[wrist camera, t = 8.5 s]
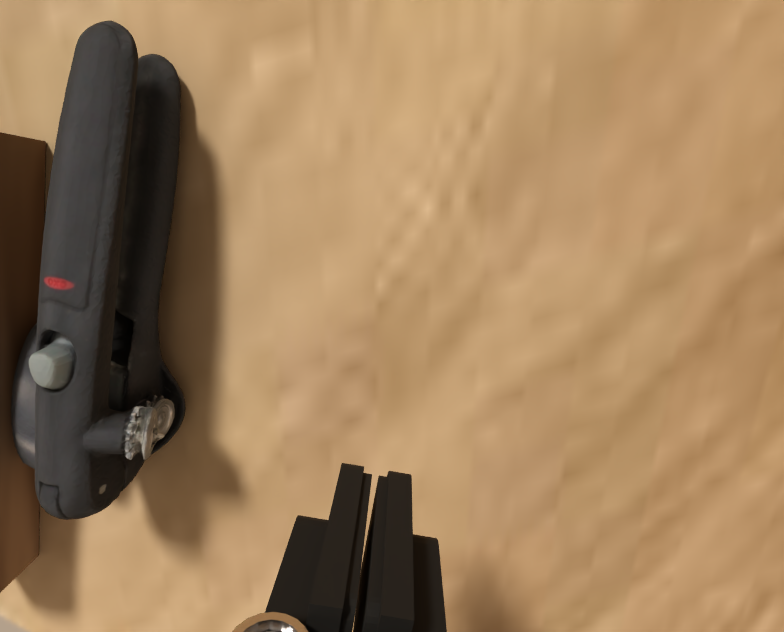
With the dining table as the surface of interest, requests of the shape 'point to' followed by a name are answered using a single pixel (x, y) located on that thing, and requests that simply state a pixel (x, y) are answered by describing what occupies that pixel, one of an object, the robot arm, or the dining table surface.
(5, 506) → the walnut rail
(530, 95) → the dining table surface
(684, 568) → the dining table surface
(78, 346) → the can opener
